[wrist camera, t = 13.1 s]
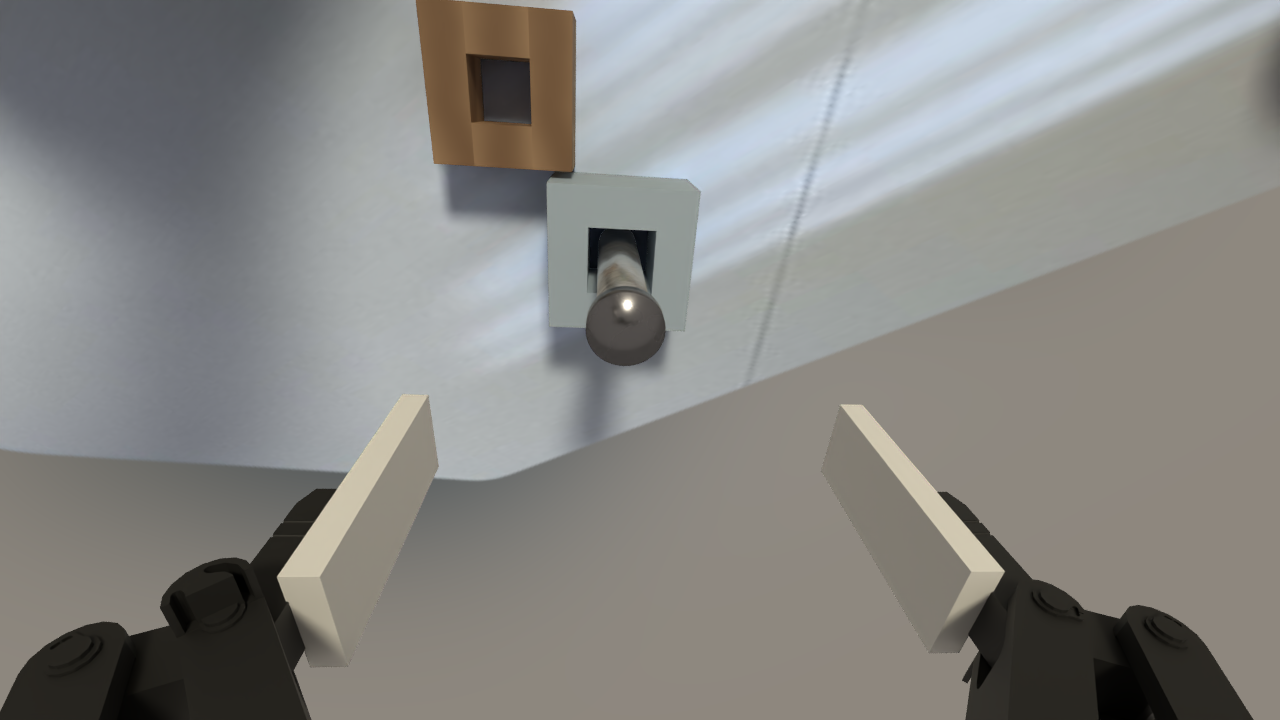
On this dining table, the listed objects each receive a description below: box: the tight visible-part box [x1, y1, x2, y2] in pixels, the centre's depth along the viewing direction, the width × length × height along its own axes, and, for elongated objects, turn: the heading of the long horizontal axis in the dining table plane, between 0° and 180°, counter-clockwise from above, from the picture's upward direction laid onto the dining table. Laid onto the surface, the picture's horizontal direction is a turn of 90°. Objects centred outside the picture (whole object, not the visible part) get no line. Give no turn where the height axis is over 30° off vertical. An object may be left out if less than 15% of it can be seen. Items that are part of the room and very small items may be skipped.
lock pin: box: [586, 228, 666, 366], centre depth 33 cm, size 4×4×17 cm
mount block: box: [416, 0, 576, 172], centre depth 33 cm, size 9×9×4 cm
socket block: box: [547, 171, 701, 331], centre depth 37 cm, size 10×10×6 cm
